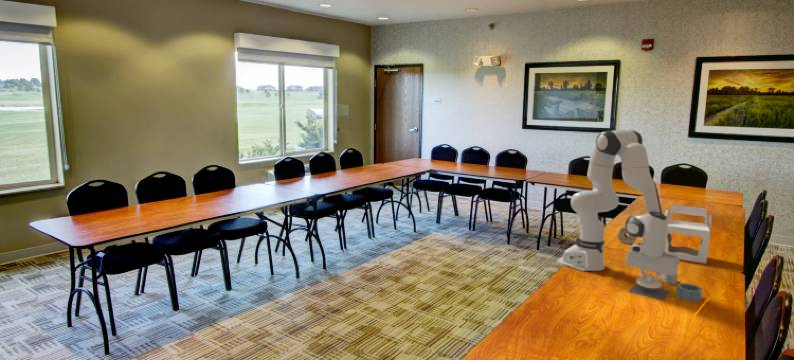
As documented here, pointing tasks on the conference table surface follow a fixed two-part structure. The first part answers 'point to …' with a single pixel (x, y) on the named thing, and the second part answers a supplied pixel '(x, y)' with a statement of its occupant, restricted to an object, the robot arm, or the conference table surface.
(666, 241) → the gable box
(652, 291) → the mat
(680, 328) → the conference table surface
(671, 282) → the medicine box
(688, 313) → the conference table surface
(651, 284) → the lid
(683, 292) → the bowl
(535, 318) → the conference table surface
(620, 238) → the stone disc
